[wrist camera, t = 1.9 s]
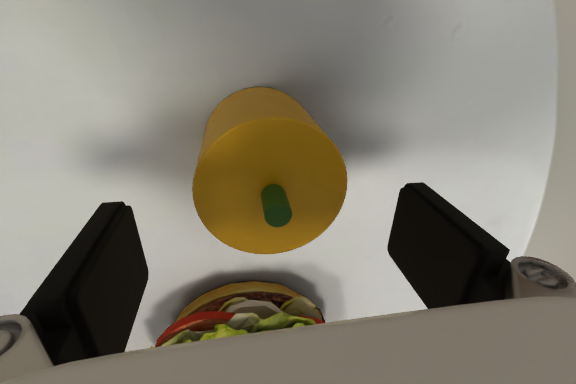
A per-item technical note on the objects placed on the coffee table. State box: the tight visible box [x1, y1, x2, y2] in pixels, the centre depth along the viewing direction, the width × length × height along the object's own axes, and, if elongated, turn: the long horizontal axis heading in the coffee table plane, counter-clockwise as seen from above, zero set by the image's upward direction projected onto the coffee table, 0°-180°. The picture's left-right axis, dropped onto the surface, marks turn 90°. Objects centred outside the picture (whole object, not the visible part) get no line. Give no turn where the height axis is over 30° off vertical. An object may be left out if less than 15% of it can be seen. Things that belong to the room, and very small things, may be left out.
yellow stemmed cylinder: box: [192, 87, 347, 254], centre depth 14 cm, size 6×6×8 cm
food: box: [150, 281, 326, 348], centre depth 21 cm, size 14×14×8 cm
